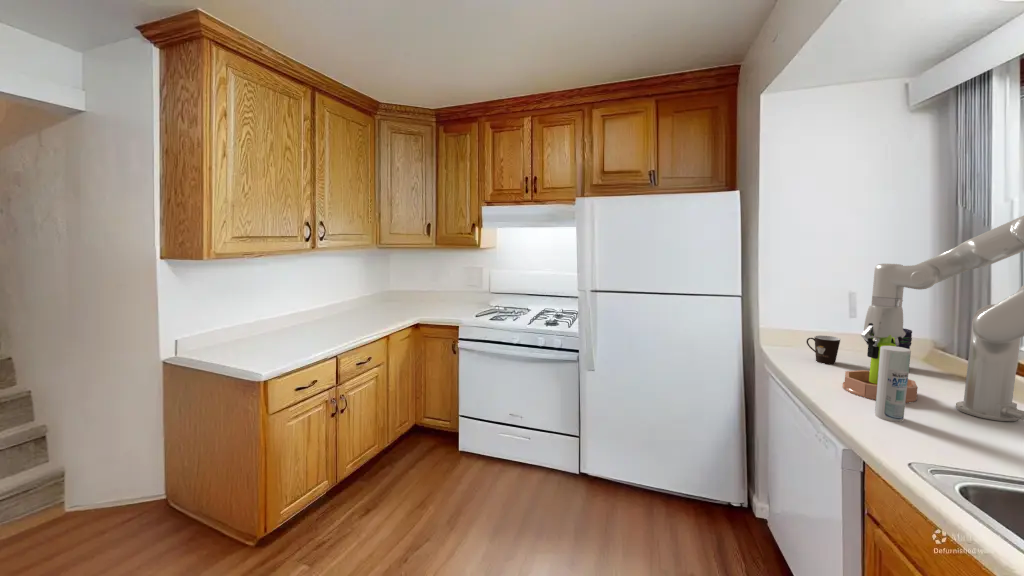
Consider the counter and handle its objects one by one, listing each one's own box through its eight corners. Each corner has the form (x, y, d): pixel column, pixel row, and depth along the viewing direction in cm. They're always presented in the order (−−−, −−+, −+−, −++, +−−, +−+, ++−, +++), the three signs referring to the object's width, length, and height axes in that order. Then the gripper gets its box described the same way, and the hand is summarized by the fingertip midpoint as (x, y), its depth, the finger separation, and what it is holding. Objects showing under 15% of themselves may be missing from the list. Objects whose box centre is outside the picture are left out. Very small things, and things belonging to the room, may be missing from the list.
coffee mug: (843, 365, 178) (845, 340, 177) (821, 365, 178) (823, 340, 177) (824, 357, 190) (825, 333, 189) (803, 357, 190) (805, 333, 189)
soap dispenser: (881, 379, 151) (887, 320, 148) (896, 385, 144) (903, 324, 142) (862, 378, 151) (868, 319, 149) (876, 385, 145) (883, 323, 142)
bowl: (933, 400, 140) (935, 386, 140) (880, 404, 137) (881, 390, 137) (876, 381, 159) (877, 368, 158) (828, 384, 156) (829, 371, 155)
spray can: (890, 412, 131) (896, 345, 129) (910, 421, 125) (917, 351, 123) (868, 413, 131) (874, 345, 129) (887, 422, 125) (894, 351, 122)
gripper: (898, 299, 149) (893, 353, 152) (852, 301, 147) (847, 355, 149) (921, 303, 142) (916, 359, 144) (874, 305, 140) (868, 361, 142)
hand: (881, 356), depth 147 cm, fingers closed on soap dispenser, 5 cm apart
